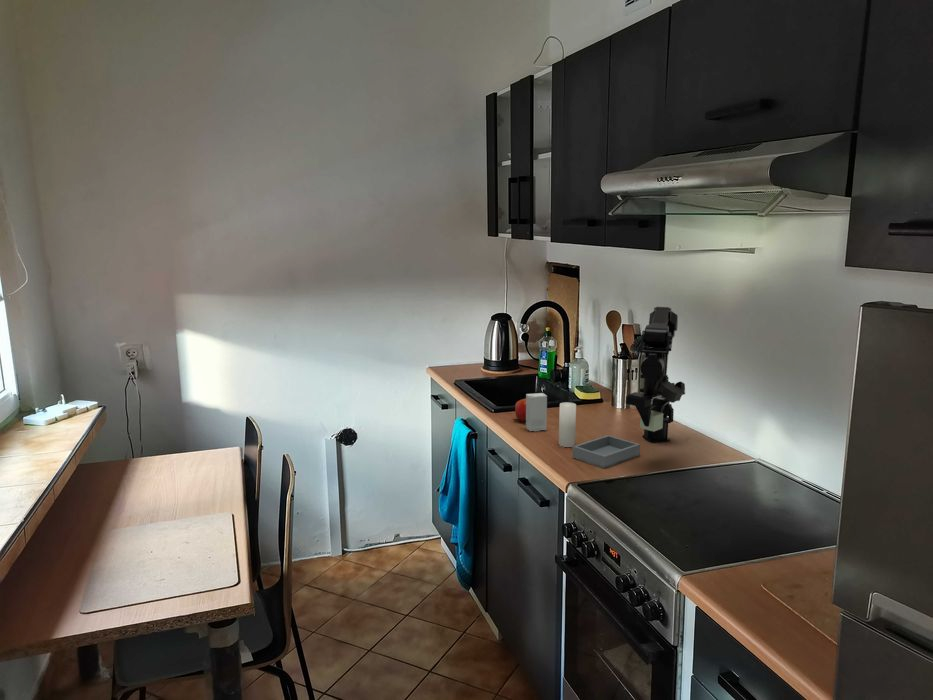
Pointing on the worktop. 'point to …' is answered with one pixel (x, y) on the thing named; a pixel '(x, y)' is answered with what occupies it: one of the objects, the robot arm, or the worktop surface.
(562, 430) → the white cylinder
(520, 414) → the apple
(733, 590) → the worktop surface
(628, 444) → the tote
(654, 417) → the green cube
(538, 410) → the skincare box
